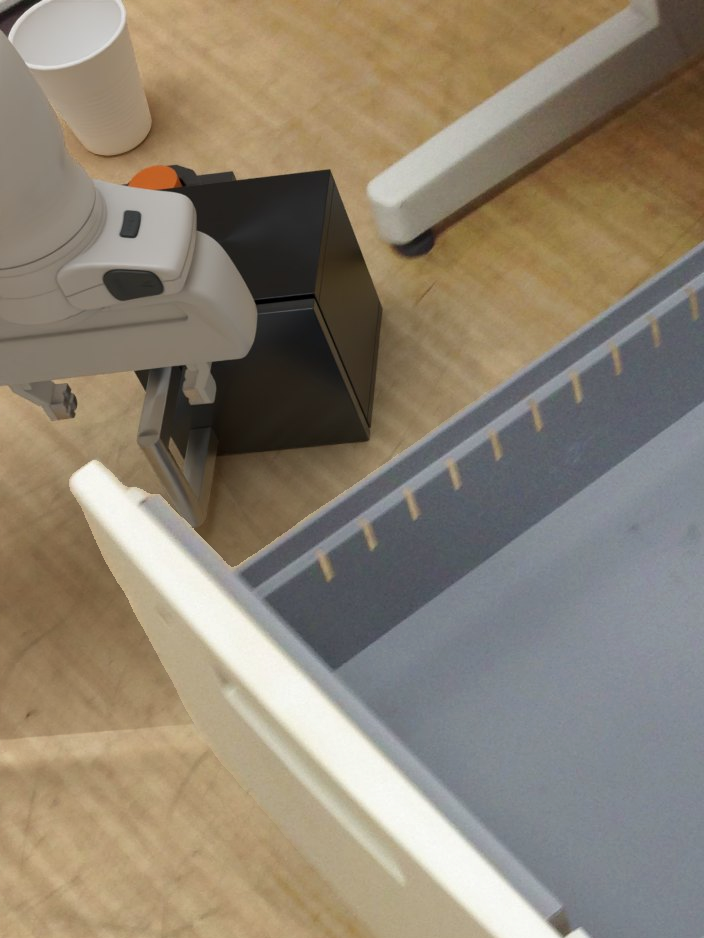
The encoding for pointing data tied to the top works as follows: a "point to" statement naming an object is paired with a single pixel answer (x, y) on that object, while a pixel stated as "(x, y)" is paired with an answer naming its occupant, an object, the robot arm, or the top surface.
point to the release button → (155, 178)
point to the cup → (86, 70)
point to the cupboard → (299, 258)
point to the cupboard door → (250, 404)
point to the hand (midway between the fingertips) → (134, 404)
